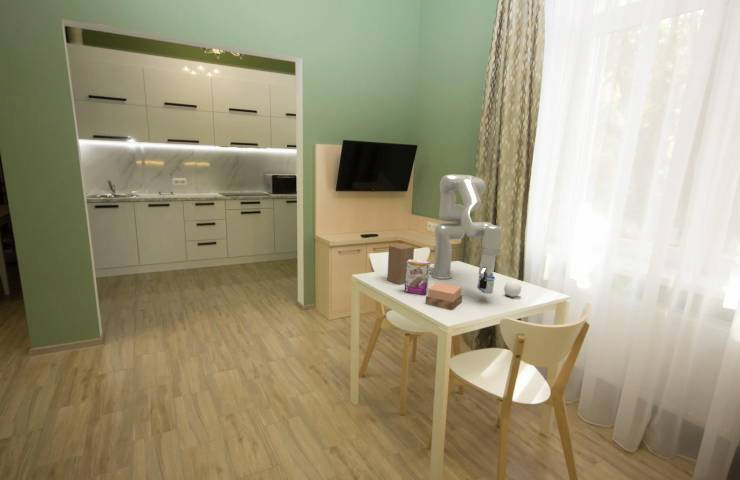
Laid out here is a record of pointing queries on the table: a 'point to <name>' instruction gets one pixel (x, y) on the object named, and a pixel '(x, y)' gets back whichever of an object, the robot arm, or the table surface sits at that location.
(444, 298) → the tower top
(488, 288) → the medicine box
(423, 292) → the candy bar box
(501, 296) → the table surface
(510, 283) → the ball
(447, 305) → the tower bottom
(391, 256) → the wooden block
